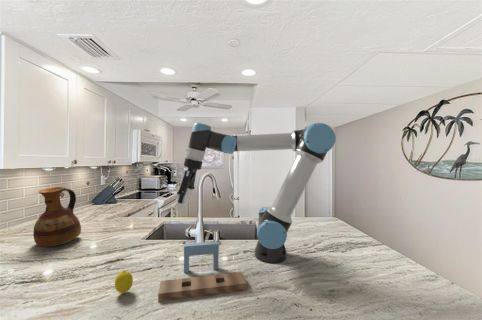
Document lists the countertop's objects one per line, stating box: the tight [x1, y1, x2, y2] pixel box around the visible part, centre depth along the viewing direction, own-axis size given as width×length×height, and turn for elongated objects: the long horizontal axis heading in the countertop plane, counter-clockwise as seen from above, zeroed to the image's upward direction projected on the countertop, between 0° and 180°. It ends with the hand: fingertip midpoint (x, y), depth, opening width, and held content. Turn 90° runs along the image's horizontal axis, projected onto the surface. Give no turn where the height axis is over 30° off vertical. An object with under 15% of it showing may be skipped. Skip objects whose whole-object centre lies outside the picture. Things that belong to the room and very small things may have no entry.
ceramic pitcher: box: [32, 186, 82, 247], centre depth 126 cm, size 20×20×30 cm
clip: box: [183, 240, 220, 274], centre depth 98 cm, size 14×3×11 cm, turn 103°
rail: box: [157, 272, 248, 302], centre depth 84 cm, size 30×8×2 cm, turn 103°
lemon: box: [114, 270, 134, 295], centre depth 81 cm, size 6×6×8 cm
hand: (182, 206), depth 102 cm, fingers open, 13 cm apart
